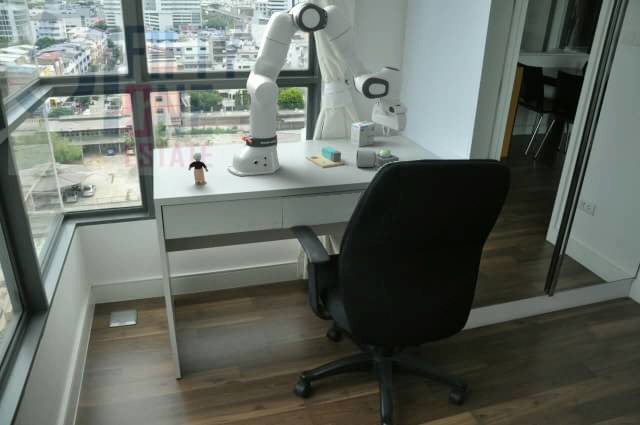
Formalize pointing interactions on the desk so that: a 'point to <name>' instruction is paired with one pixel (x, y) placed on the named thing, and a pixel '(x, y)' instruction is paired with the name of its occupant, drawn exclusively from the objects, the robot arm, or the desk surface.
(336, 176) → the desk surface
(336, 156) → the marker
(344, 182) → the desk surface
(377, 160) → the button housing
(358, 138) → the light bulb box
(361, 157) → the ceramic mug
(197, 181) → the grandmother figurine
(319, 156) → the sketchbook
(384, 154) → the button
